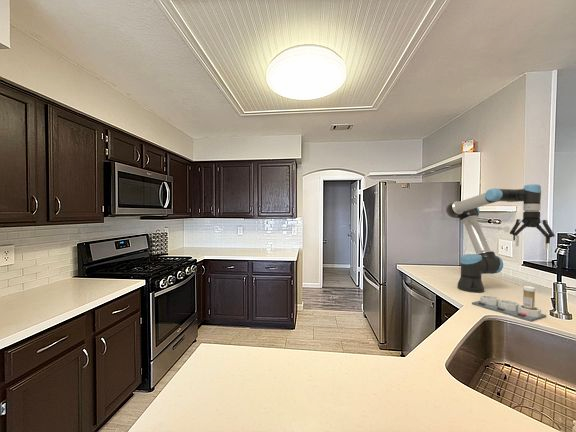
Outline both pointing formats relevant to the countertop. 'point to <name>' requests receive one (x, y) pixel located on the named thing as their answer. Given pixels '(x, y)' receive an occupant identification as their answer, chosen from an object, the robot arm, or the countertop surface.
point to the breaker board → (512, 313)
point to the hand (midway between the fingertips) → (530, 247)
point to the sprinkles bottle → (529, 297)
